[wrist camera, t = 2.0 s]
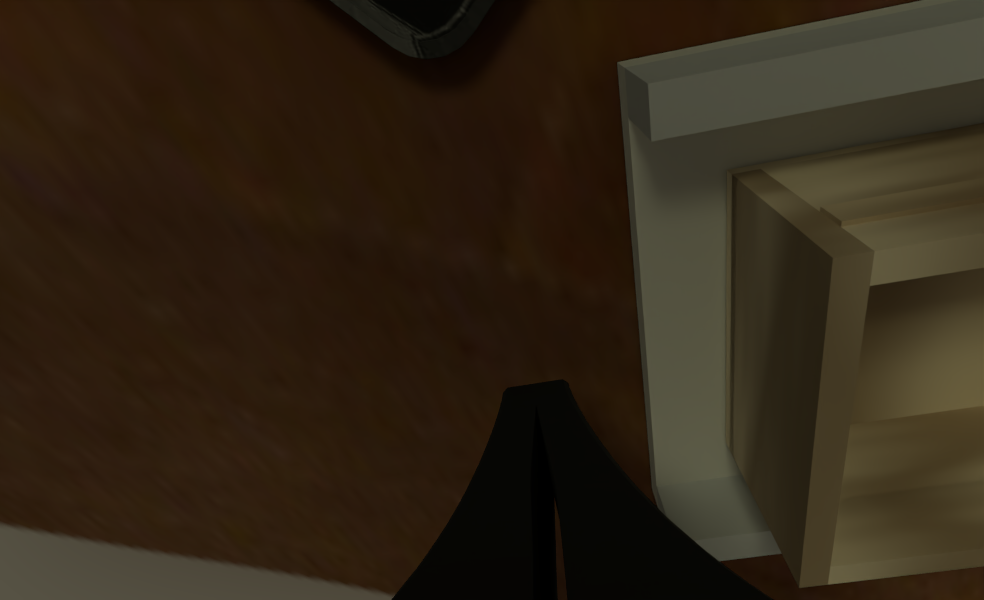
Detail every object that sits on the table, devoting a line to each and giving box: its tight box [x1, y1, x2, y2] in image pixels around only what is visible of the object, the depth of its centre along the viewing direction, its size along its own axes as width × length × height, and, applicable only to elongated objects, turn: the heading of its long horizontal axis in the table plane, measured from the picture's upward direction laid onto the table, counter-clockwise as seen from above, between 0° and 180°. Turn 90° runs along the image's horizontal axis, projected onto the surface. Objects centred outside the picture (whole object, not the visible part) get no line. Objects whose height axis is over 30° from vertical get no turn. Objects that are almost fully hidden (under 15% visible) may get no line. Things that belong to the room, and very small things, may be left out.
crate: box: [726, 123, 984, 588], centre depth 12 cm, size 7×8×4 cm
